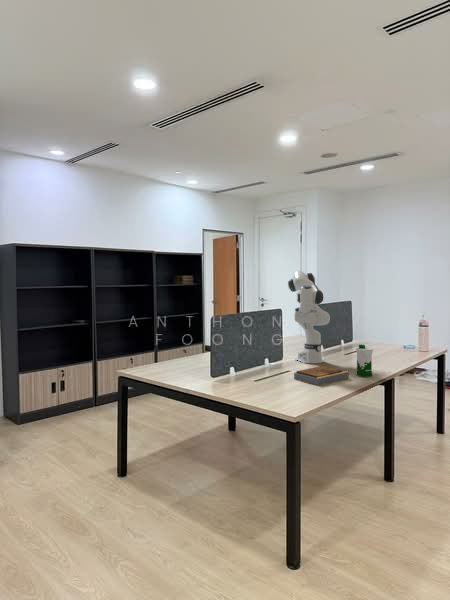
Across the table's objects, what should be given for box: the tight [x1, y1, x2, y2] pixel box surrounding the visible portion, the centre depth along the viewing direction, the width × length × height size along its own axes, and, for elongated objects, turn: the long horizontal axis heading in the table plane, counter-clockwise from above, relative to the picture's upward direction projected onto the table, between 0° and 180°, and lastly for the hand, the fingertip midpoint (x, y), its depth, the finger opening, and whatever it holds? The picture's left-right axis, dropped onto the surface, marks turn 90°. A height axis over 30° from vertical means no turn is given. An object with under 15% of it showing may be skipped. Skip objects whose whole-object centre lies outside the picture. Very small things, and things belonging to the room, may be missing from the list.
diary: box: [295, 365, 344, 378], centre depth 269 cm, size 23×19×6 cm
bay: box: [293, 370, 350, 386], centre depth 268 cm, size 20×28×5 cm
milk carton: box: [355, 344, 374, 378], centre depth 274 cm, size 9×9×20 cm
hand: (306, 329), depth 290 cm, fingers closed
